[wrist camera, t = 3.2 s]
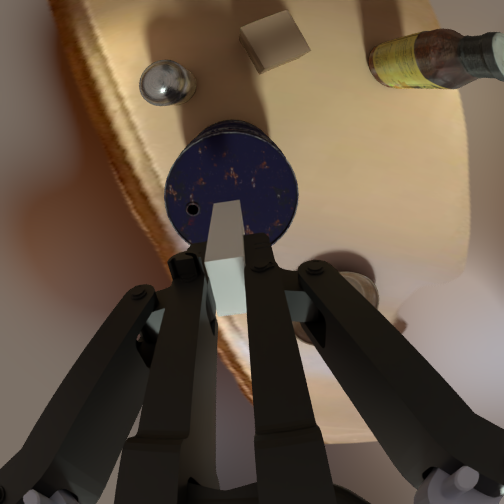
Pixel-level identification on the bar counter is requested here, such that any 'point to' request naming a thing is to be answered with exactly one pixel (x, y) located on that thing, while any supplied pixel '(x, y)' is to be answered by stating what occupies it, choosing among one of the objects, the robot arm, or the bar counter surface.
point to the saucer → (355, 280)
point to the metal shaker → (167, 83)
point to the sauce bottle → (438, 59)
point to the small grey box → (273, 41)
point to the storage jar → (231, 182)
